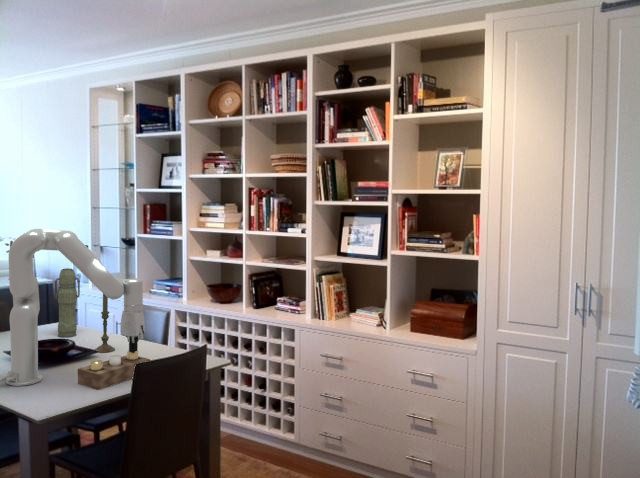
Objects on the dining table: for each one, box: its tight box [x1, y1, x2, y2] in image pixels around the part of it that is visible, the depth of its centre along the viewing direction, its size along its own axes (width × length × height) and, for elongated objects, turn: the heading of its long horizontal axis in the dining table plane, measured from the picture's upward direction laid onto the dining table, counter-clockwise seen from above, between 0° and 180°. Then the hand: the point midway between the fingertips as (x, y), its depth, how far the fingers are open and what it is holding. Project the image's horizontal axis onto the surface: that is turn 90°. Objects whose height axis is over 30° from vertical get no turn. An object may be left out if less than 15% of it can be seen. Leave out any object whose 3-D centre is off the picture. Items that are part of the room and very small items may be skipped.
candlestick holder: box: [94, 293, 116, 354], centre depth 272 cm, size 9×9×30 cm
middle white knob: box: [108, 354, 122, 366], centre depth 233 cm, size 4×4×6 cm
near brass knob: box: [90, 359, 104, 372], centre depth 225 cm, size 4×4×6 cm
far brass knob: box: [126, 350, 139, 361], centre depth 240 cm, size 4×4×6 cm
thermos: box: [54, 267, 81, 339], centre depth 297 cm, size 9×12×35 cm
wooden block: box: [77, 354, 151, 391], centre depth 233 cm, size 26×12×6 cm, turn 150°
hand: (133, 351), depth 240 cm, fingers closed
